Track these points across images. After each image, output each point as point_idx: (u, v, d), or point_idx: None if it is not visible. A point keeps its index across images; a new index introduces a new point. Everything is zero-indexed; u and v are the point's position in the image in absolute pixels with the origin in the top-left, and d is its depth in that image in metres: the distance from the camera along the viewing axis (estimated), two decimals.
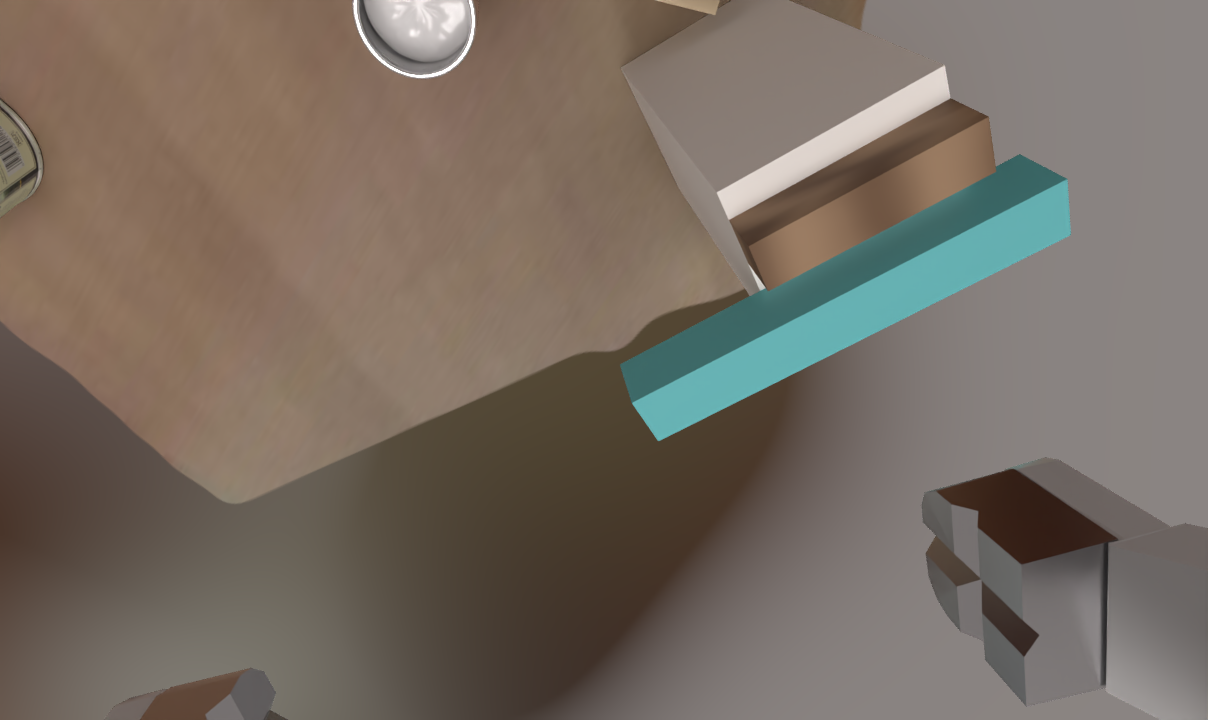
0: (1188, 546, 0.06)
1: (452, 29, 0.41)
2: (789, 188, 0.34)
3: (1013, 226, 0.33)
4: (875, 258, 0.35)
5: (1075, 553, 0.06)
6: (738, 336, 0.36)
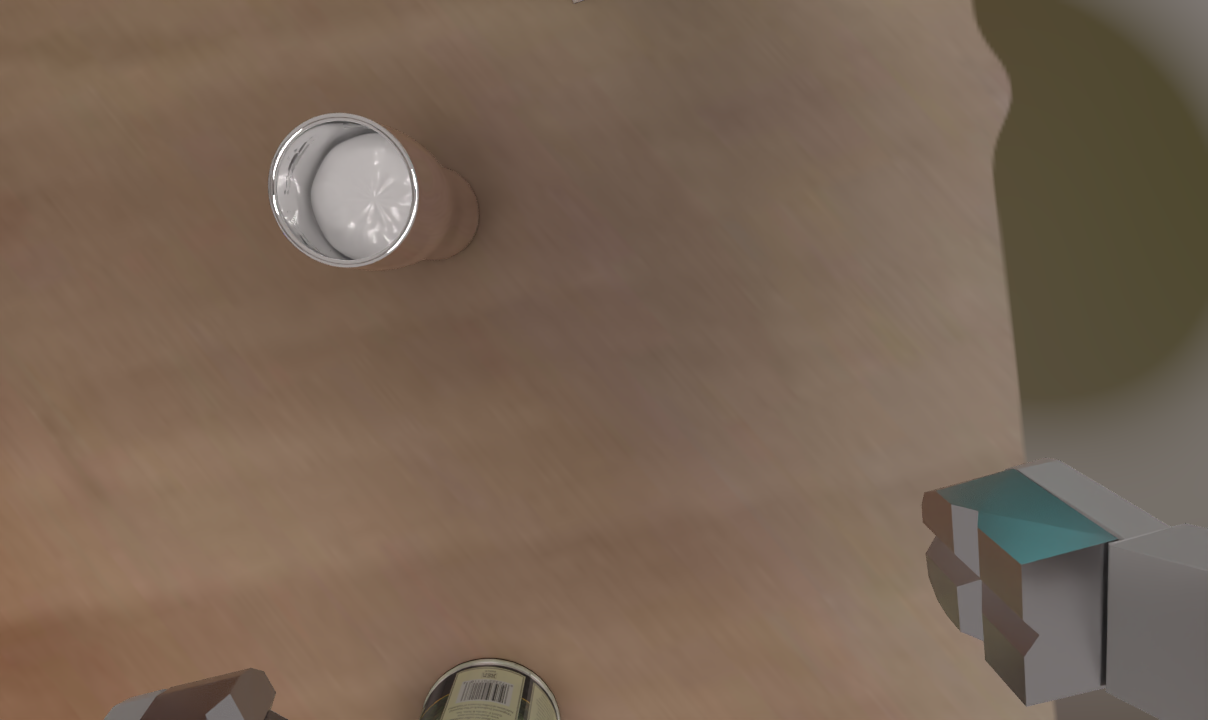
0: (1188, 547, 0.06)
1: None
2: None
3: None
4: None
5: (1075, 553, 0.06)
6: None
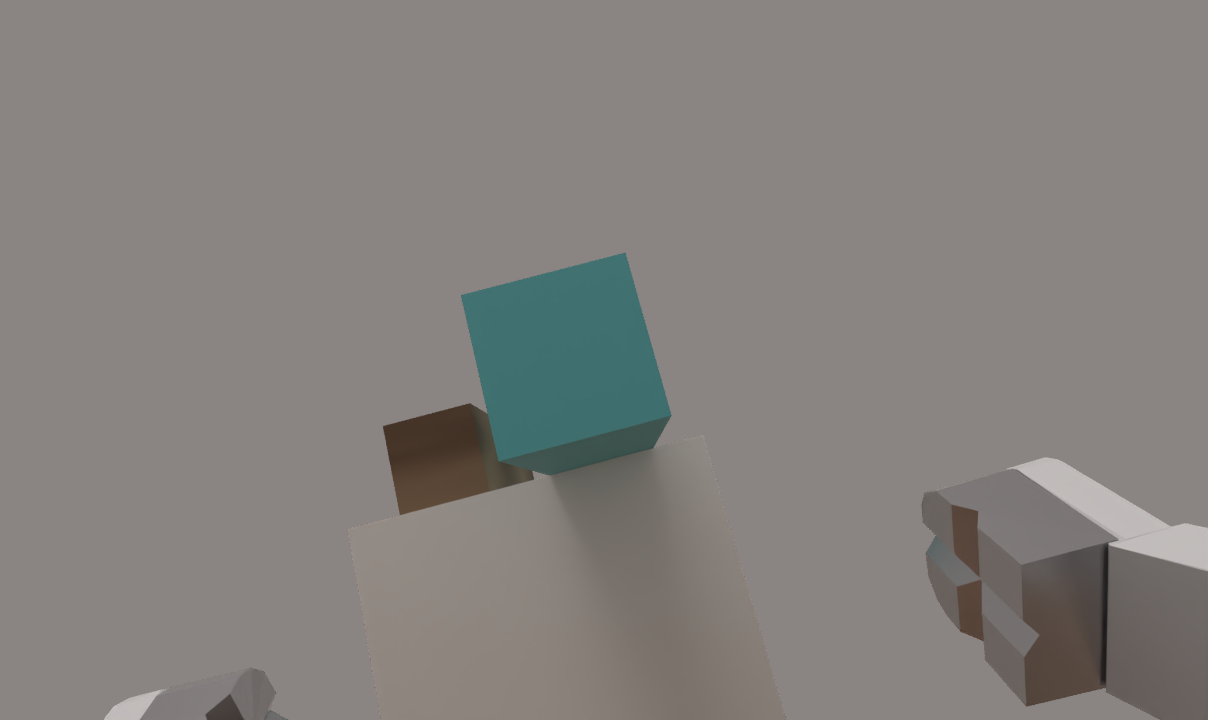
0: (1189, 546, 0.06)
1: None
2: None
3: None
4: None
5: (1075, 553, 0.06)
6: None
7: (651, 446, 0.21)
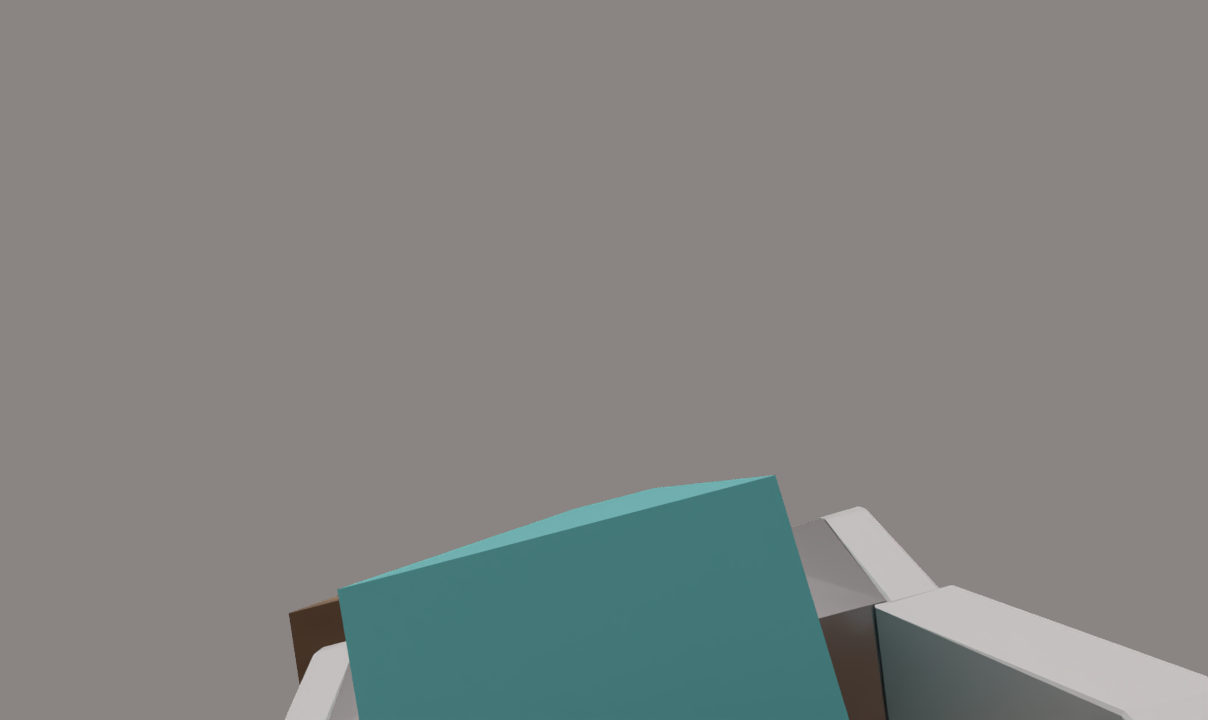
0: (943, 612, 0.06)
1: None
2: None
3: None
4: None
5: (845, 614, 0.06)
6: None
7: None
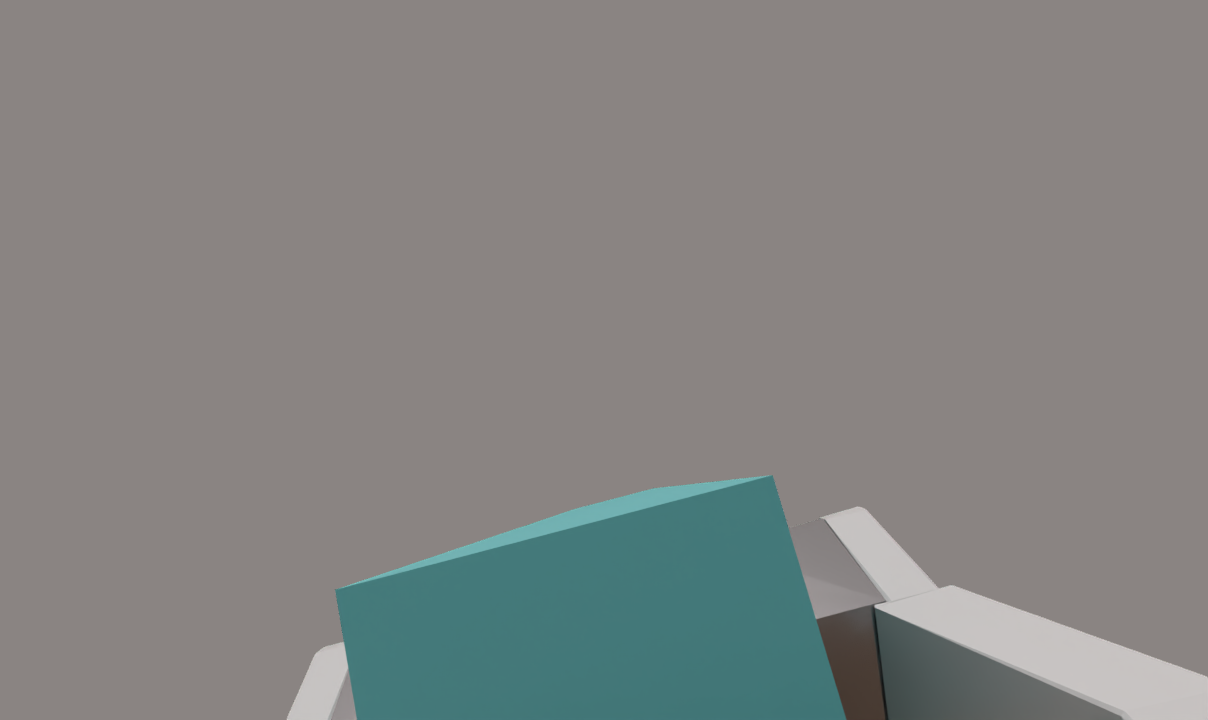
0: (942, 611, 0.06)
1: None
2: None
3: None
4: None
5: (844, 614, 0.06)
6: None
7: None
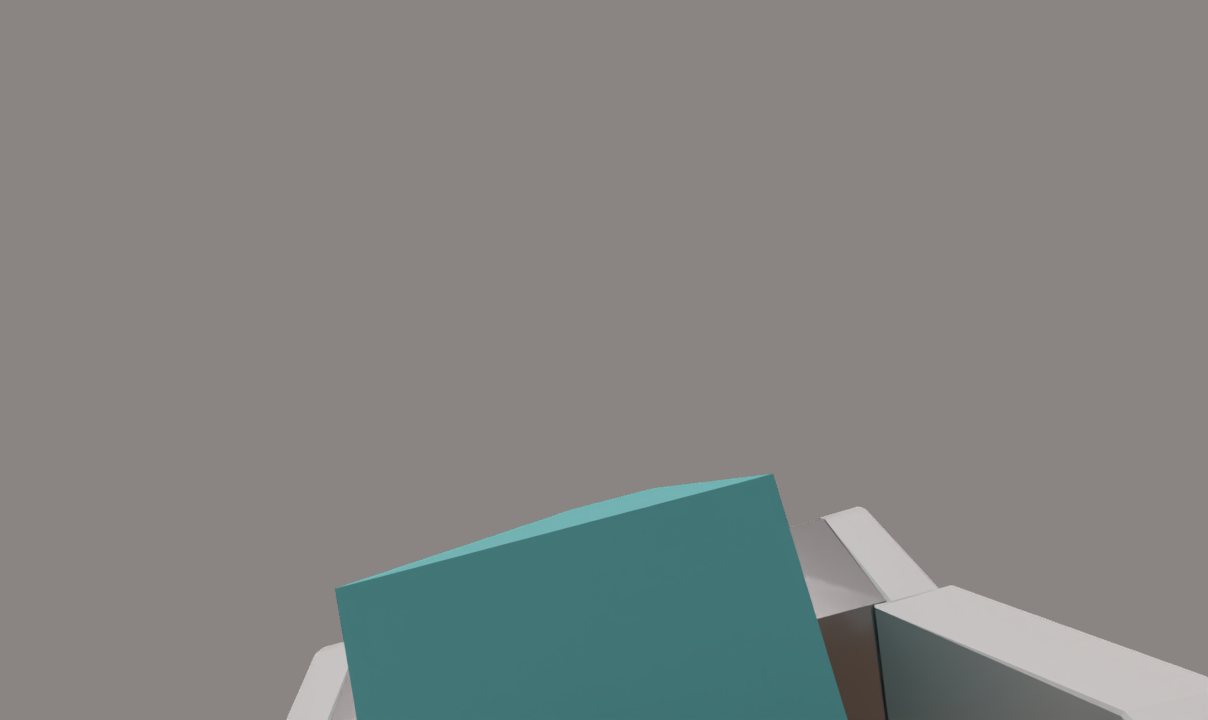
0: (943, 612, 0.06)
1: None
2: None
3: None
4: None
5: (844, 614, 0.06)
6: None
7: None
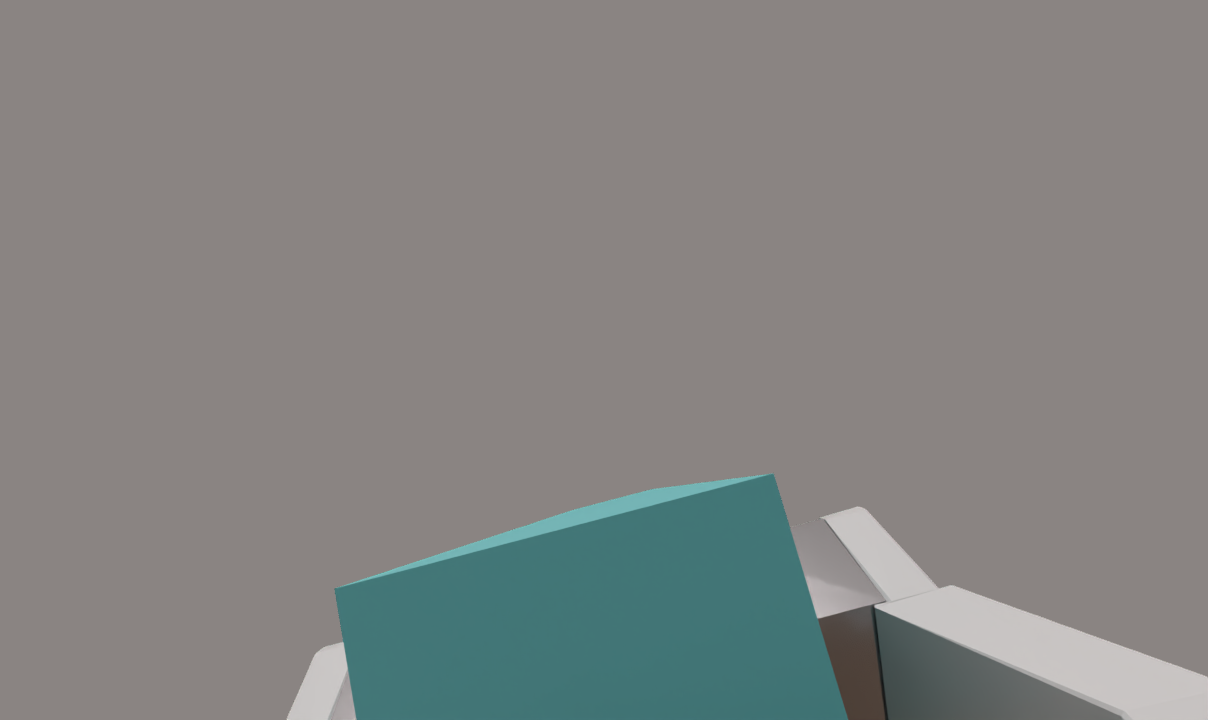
0: (943, 611, 0.06)
1: None
2: None
3: (596, 504, 0.26)
4: None
5: (844, 614, 0.06)
6: None
7: None
